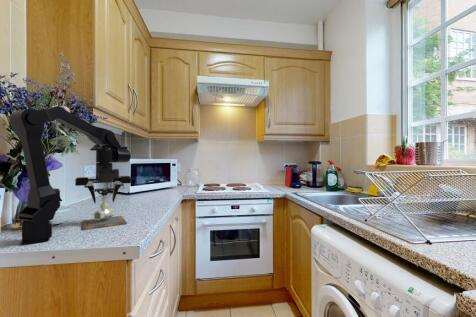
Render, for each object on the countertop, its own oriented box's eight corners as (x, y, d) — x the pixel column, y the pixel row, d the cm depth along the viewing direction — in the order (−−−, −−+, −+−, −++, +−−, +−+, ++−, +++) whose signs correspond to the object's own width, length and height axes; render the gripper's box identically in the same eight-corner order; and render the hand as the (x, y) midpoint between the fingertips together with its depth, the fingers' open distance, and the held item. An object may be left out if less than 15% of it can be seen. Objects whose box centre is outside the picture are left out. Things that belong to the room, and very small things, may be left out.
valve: (117, 217, 95) (117, 187, 96) (104, 221, 89) (104, 189, 89) (104, 216, 97) (104, 187, 97) (90, 220, 91) (90, 189, 91)
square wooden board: (83, 230, 83) (83, 227, 83) (82, 221, 95) (82, 219, 95) (126, 224, 91) (126, 221, 91) (121, 217, 103) (121, 215, 103)
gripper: (75, 162, 81) (74, 208, 81) (133, 162, 92) (133, 203, 92) (75, 162, 91) (75, 203, 91) (128, 162, 101) (128, 199, 101)
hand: (104, 202), depth 93 cm, fingers open, 6 cm apart
